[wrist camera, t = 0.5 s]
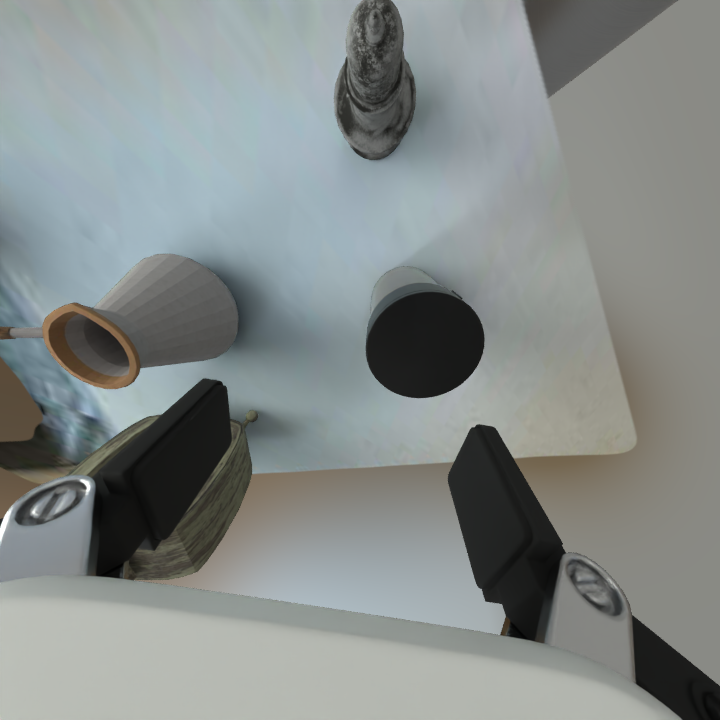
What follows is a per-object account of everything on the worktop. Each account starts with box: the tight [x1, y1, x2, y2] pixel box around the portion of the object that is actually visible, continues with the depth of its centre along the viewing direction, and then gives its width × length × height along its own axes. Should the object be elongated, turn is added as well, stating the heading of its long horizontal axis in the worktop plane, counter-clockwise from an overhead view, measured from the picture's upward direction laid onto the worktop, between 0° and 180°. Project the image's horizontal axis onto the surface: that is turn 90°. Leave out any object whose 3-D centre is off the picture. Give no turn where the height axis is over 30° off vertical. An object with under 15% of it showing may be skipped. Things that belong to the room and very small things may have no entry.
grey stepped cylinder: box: [334, 0, 416, 160], centre depth 16 cm, size 6×6×12 cm
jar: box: [370, 266, 439, 317], centre depth 23 cm, size 7×7×12 cm
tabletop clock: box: [66, 410, 258, 580], centre depth 27 cm, size 14×9×25 cm, turn 87°
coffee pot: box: [0, 254, 239, 389], centre depth 23 cm, size 21×12×15 cm, turn 83°
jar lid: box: [366, 283, 484, 398], centre depth 18 cm, size 8×8×3 cm
